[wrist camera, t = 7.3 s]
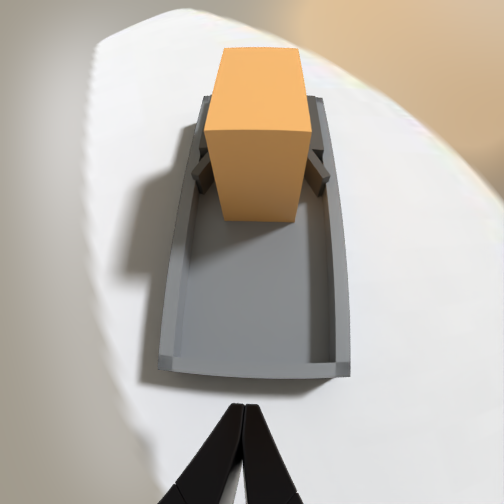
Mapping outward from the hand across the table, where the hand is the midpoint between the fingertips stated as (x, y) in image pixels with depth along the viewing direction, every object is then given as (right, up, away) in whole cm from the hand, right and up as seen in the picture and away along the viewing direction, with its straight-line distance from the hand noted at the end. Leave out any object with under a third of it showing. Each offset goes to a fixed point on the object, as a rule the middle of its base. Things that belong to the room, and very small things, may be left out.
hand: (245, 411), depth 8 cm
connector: (+1, +11, +12) cm, 17 cm away
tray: (+1, +7, +12) cm, 14 cm away
